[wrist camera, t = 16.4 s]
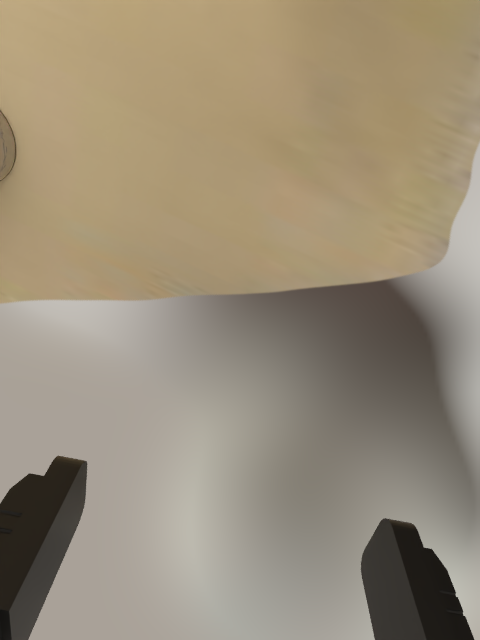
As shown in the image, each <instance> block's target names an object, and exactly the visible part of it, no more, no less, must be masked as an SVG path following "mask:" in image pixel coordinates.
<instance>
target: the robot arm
mask: <svg viewBox="0 0 480 640" xmlns="http://www.w3.org/2000/svg"><path fill="white" fill-rule="evenodd" d="M14 160H15V142H14V137H13V134H12V131H11V128H10V126H9V124H8V122H7V121H6V119H5V117H4V116H3V115H2V113H1V112H0V180H2V179H3V178H4V177H5V176H6V175H8V173H9V172H10V170H11V168H12V166H13V163H14ZM86 477H87V462H86V461H83V460H78V459H73V458H68V457H62V456H57V457H56V458H55V459H54V460H53V462H52V464H51V465H50V467H49V469H48V470H47V472H46V474H45V475H44V476H40V475H35V474H28V475H27V476H26V477H24V478H23V479H22V480H21V481H19V482H18V483H17V484H16V485H14V486H13V487H12V488H11V489H10V490H9V491H8V493H7V494H6V496H5V497H4V499H3V501H2V502H1V504H0V640H28V639H29V636H30V634H31V632H32V629H33V627H34V625H35V623H36V620H37V618H38V616H39V613H40V611H41V609H42V606H43V604H44V602H45V600H46V597H47V595H48V593H49V590H50V588H51V586H52V584H53V581H54V579H55V577H56V574H57V572H58V570H59V567H60V565H61V563H62V561H63V558H64V556H65V553H66V551H67V549H68V547H69V544H70V542H71V540H72V537H73V535H74V533H75V531H76V528H77V526H78V524H79V521H80V518H81V515H82V512H83V508H84V503H85V495H86ZM361 573H362V579H363V584H364V589H365V594H366V598H367V603H368V608H369V613H370V618H371V623H372V627H373V632H374V637H375V640H474V638H473V635H472V633H471V630H470V627H469V625H468V622H467V620H466V617H465V616H463V610H462V607H461V604H460V602H459V599H458V597H456V595H455V594H456V592H455V589H454V587H453V585H452V582H451V579H450V577H449V574H448V571H447V570H446V568H445V567H444V565H443V564H442V562H441V561H440V560H439V558H438V557H437V556H436V554H435V553H434V551H433V550H432V549H428V548H424V547H423V544H422V542H421V539H420V536H419V533H418V531H417V529H416V527H415V526H414V525H413V524H412V523H407V522H401V521H396V520H391V519H386V518H385V519H383V520H381V522H380V523H379V525H378V527H377V529H376V530H375V532H374V534H373V536H372V538H371V539H370V541H369V543H368V545H367V546H366V548H365V550H364V553H363V555H362V562H361Z"/></svg>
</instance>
